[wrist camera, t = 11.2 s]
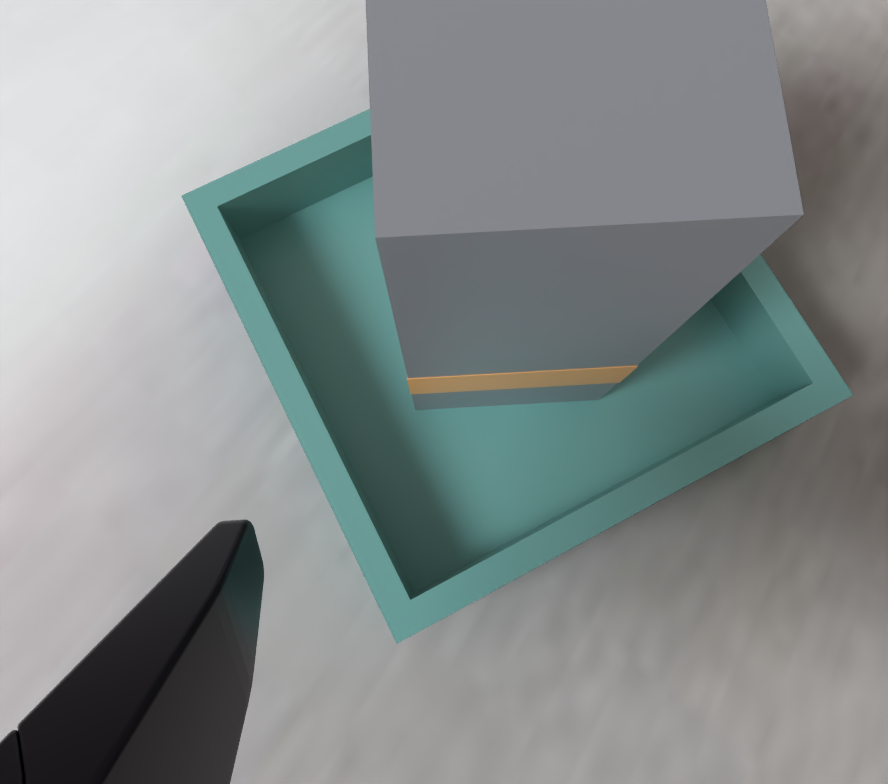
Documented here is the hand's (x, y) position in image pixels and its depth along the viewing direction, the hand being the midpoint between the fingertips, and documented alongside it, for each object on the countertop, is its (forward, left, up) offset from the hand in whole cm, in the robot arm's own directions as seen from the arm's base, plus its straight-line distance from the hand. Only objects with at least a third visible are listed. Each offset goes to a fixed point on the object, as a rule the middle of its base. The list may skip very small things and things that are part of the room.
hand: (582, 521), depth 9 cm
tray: (+5, -2, -10) cm, 11 cm away
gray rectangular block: (+5, -2, -9) cm, 11 cm away
